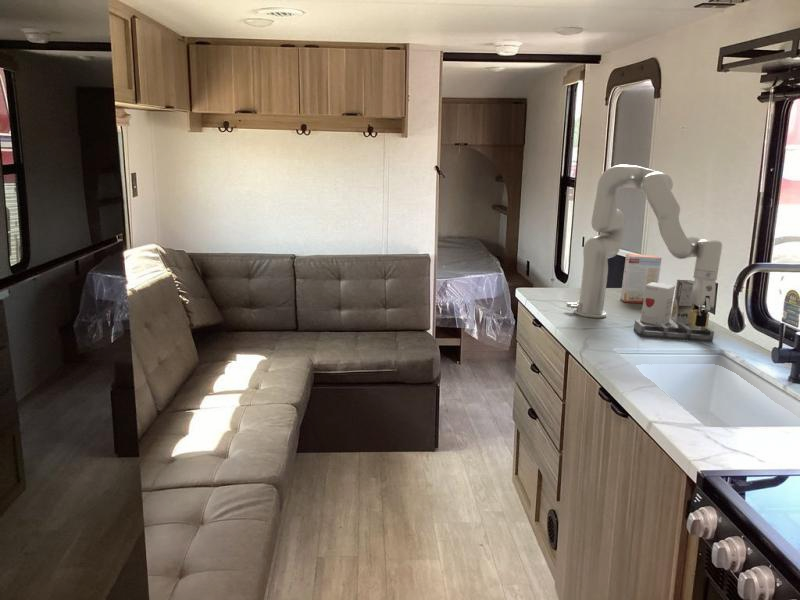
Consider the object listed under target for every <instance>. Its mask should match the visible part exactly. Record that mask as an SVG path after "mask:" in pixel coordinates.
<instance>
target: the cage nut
mask: <svg viewBox="0 0 800 600" xmlns="http://www.w3.org/2000/svg"><path fill="white" fill-rule="evenodd" d="M702 310H703V309H702ZM697 315H699V309H694V310H690V313H689V320H688V323H689V324H688V325H689V326H692V327H693V328H694V327H695V328H700V327H699V326H696V320H697ZM709 319H710V313H709V312H708V316H707V320H706V326H705V327H706V328H707V327H708V326H709Z"/></svg>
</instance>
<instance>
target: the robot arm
mask: <svg viewBox="0 0 800 600" xmlns="http://www.w3.org/2000/svg"><path fill="white" fill-rule="evenodd" d="M596 188H597V189H596V193H595V194H596V195H595V200H594V205H593V211H592V216H591V222H590V223H591V228H592V229H593V230H594V231H595V232H597V233H599V235H596V236H593V237H590V238H589V239H588V240H587V241H586V242H585V243H584V246H583V255H582V256H583V267H582V277H581V284H580V293H579V299H578V300H577V301H576V302H566V308H570V309H574V310H573V313H574V314H575V315H578V316H581V317H585V318H593V319H601V318H606V317H607V312H606V311H604V306H605V298H606V290H607V285H608V284H607V282H608V275H609V261H608V259H610V258H611V259H612V258H615V257H616V256H617V255H618V253H619V252H620V250H621V246H622V241H623V236H624V231H625V226H626V225H625V224H626V222H625V221H626V219H625V215H624V213H623V212H622V210H620V209H619V208H618V204H619V200H620V198H619V195H620V194H619V190H620V189H623V188H626V189H627V188H628V189H629V188H630V189H635V190H639V191H641V192H643V195H644V196H645V199H646V200H647V202H648V204H649V206H650V208H651V209H652V211H653V213H654V215H655V217H656V220H657V224H658V225H657V226H658V229H659V233H660V237H661V238H662V240H663V242H664V245H665V246H666V247H667V251H669V253H670V254H671V256H673V257H675V258H676V259H680V260H682V259H683V260H685V259H688V258H695V264H694V271H693V275H692V276H693V277H692V278H693V279H694V280H693V281H694V284H693V288H692V294H691V302H692V309H691V310H694V309H699V315H697V320H696V326H699V327H698V328H701V327H705V326H706V320H707V316H708V313H709V312H710V311H711V309H713V308H714V306H715V297H716V289H717V287H716V286H717V285H716V282H717V280H718V274H719V267H720V263H721V256H722V250H723V243H722V242H721V241H720V240H716V239H705V238H704V239H703V238H699V237H697V236H693V235H691V236H689V235H688V236H686V234H685V232H684V230H683V227H682V225H681V222H680V212H681V207H680V204H679V203H678V201H677V199H676V197H675V196H674V194H673V192H672V189H673V179H672V178H671V176H670V175H669V174H667V173H665V172H661V171H656V170H653V169H650V168H646V167H643V166H640V165H632V164H618V165H614V166H611V167H609V168H607V169H606V170H605V171H603V173H602V174H601V175H600V177H599V179H598V182H597V186H596ZM702 309H703V310H702Z"/></svg>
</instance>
